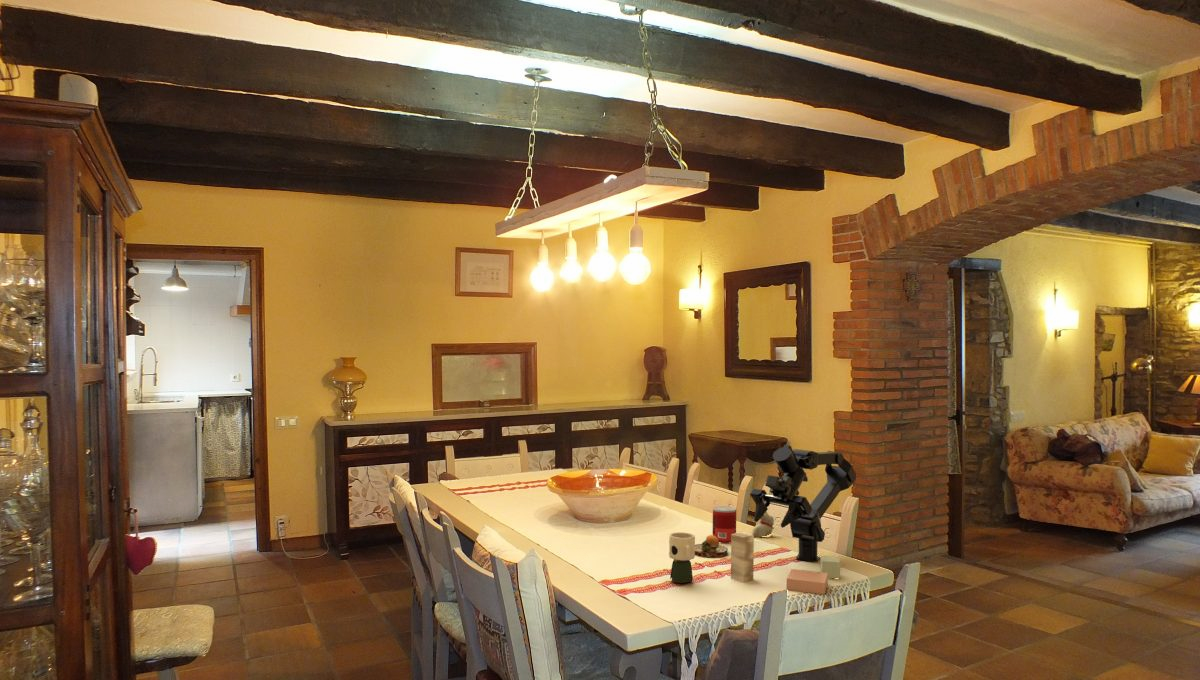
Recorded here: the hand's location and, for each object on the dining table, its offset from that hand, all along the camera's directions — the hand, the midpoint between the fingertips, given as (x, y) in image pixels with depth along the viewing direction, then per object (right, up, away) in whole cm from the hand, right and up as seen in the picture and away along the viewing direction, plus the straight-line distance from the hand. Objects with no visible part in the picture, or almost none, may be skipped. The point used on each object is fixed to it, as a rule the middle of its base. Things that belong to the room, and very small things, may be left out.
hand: (768, 523), depth 223 cm
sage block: (+17, -14, -4) cm, 22 cm away
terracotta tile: (+7, -14, -14) cm, 21 cm away
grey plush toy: (+8, -15, +43) cm, 47 cm away
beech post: (-9, -14, -8) cm, 18 cm away
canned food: (-7, -15, +36) cm, 40 cm away
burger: (-15, -15, +20) cm, 28 cm away
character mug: (-27, -13, -12) cm, 32 cm away
